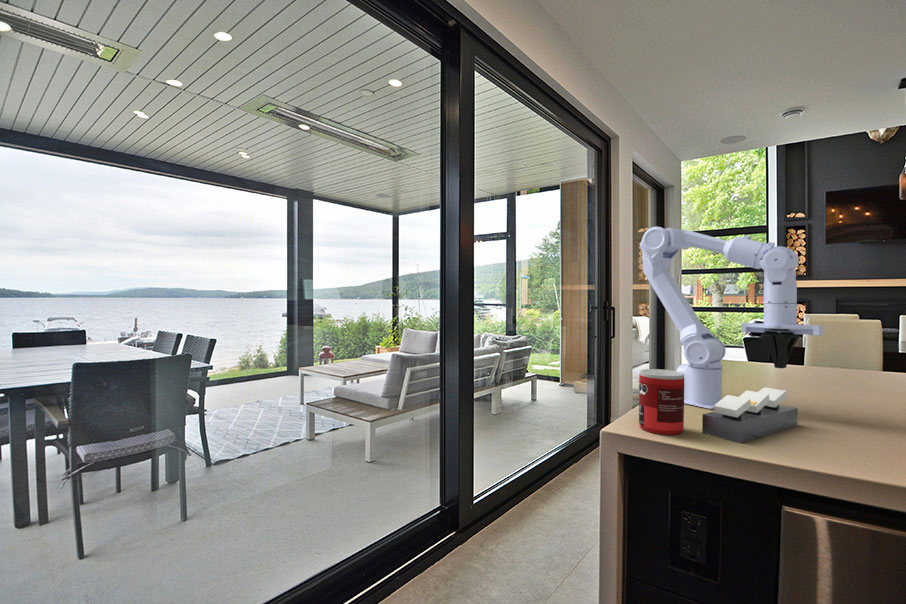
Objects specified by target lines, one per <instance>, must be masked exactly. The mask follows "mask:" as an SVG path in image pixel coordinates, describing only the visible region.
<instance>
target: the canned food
mask: <svg viewBox="0 0 906 604" xmlns="http://www.w3.org/2000/svg"><path fill="white" fill-rule="evenodd" d="M638 378H639V379H638V424H639V427H640V429H642V430H643V431H645V432H646V433H647V432H648V433H650V434H656V435H662V436H676V435H677V434H678V435H680V434H682V432H683V430H684V427H685V425H684V424H685V423H684V422H685V411H684V410H685V403H684V374H683V373H681V372H677V370H671V369H659V368H648V369H647V368H645V369H640V370H639V377H638Z"/></svg>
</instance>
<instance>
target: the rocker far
mask: <svg viewBox="0 0 906 604" xmlns="http://www.w3.org/2000/svg"><path fill="white" fill-rule="evenodd" d="M758 392H759V393H765V394H769V399H770V401H769V402H768V403H767V404H766V405H765V406H770V407H776V406H778V405H781V403H782V402H783V401H785V400H786V399H787V398H788V396H787V395H788V394H787V390H785V389H784V390H782V389H778V388H772V387H767V386H766V387H763V388H761V389H760V390H758Z"/></svg>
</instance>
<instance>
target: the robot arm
mask: <svg viewBox="0 0 906 604" xmlns="http://www.w3.org/2000/svg"><path fill="white" fill-rule="evenodd" d="M775 245H776V243H775V242H771V241H768V242H767V243H766V242H762V241H757V240H752V237H751V236H748V235H742V237H741V236H735V237H734V238H732V239H730V240H726V239H722V238H718V237H714V236H711V235H707V234H703V233H699V232H695V231H691V230H687V229H682V228H681V229H680V228H669V227H666V228H663V227H661V226H653V227H649V228H648V229H647V230H646V231H645V232H644V234H643V235H642V239H641V241H640V243H639V247H640V250H641V254H642V257H641V258H642V271H643V274H644V275H645V277H646V279H647V280H648V282H649V284H650V286H651V288H653V289H652V290H654V292H655V293H656V295H657V297H658V299H659V300H660V302H661V303H662V305H663V307H664V308H665V310H666V311H667V314H668V315H669V317H670V319H671V320H672V322H673V323H674V325H675V326H676V328H677V330H678V332H679V334H680V335H679V337H680V338H679V341H680V343H681V346H682V347H683V355H684V357H685V359H686V361H687V364H685V363H684V364H680V365H678V367H677V368H676V371H677V372H681V373H683V374H684V405H685V404H686V405H689V406H690V405H691V406H695V407H699V408H704V409H709V410H714V405H715V404H716V403H718V402H719V401H720V400H721V399H723V365H722V362H721V361H722V360H723V359H724V357H725V355H726V352H727V351H726V345H725V344H724V343H723V341H722V340H721V339H719V338H717V337H716V336H715V335H714V334H713V333H712V332H711V330H710V329H709V328H708V327H707V326H705V325H704V324H703V323H702V322H701V320H700V318H699V316H698V315H697V314H696V312H695V310H694V309H693V307H692V306H691V304H690V303H689V301H688V300H687V298H686V296H685V294H684V293H683V291H682V290H681V288H680V287H679V285H678V284H677V282H676V281H675V279H674V277H673V276H672V274H671V272H670V271H669V267H670V264H671V262H672V261H671V260H673V258H674V257H675V256H676V255H677V253H678V252H680V251H679V250H686V249H688V248H690V247H692V248H696V249H697V248H698V249H701V250H705V251H709V252H714V253H719V254H722V255H723V256H724V257H725V259H726V261H727V262H730V263H733V264H738V265H741V266H745V267H747V268H748V267H749V268H751V269H752V268H753V269H756V270H760V269H762V270H763V272H764V273H763V277H764V279H763V281H764V282H763V322H762V323H760V322H742V323H741V332H743V333H763V334H761V339H762V341H763V342H764V343H765V345H766V347H767V348H768V350H769V353H770V355H771V358H772V362H773V364H774V365H773V366H774V368H775V369H786V368H787V366H788V361H789V358H790V356H791V355H790V354H791V353H792V350H793V349H794V347H795V345H796V343H797V342H798V340H799V337H800V335H806V336H807V335H809V336H824V325H816V324H799V323H798V319H797V318H798V317H797V316H798V307H797V306H798V301H797V300H798V297H797V295H798V294H797V293H798V290H797V289H798V288H797V287H798V285H797V282H798V281H797V279H796V278H797V273H796V272H797V271H796V269H797V267H798V265H799V263H800V261H799V256H798V254H797V253H796V251H794V250H793V249H791V248H789V247H786V246H780V245H778V246H777V245H776V246H775ZM772 329H773V330H772ZM774 329H775V330H774ZM787 330H788V331H787Z"/></svg>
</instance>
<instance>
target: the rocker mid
mask: <svg viewBox="0 0 906 604" xmlns="http://www.w3.org/2000/svg"><path fill="white" fill-rule="evenodd" d="M738 397H742V398H747V399H750V402H751V407H749V408H748V409H747V410H746V411H750V412H755V413H758V412H759V411H760V410H761V409H762V408H763V407H764V406H765V405H766V404H767V403H768V402H769V401H770V399H769V394H765V393H759V391H752V390H745V391H744V392H742V393H741V394H740V395H739V396H738Z"/></svg>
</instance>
